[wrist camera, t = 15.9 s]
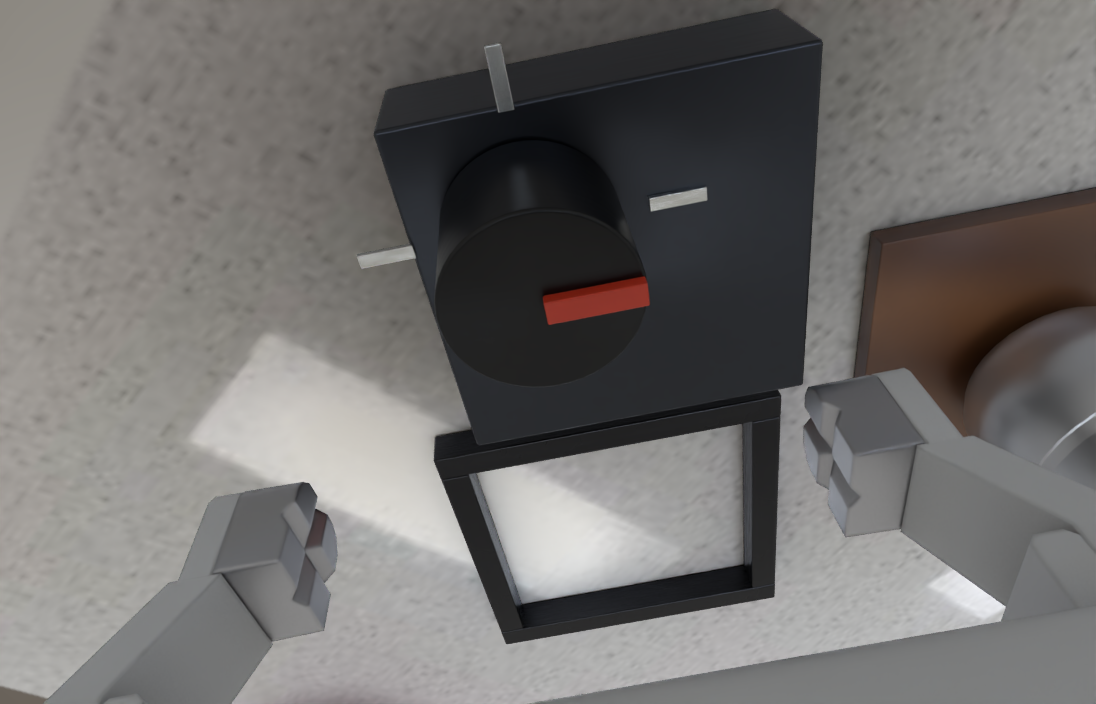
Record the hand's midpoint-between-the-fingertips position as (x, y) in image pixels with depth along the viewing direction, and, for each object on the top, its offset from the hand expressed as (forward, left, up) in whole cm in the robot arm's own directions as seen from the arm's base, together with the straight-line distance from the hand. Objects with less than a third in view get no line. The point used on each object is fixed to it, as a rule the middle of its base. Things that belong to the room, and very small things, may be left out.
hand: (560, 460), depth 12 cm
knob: (0, 0, -8) cm, 7 cm away
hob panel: (+2, +2, -11) cm, 11 cm away
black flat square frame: (+15, +1, -11) cm, 18 cm away
